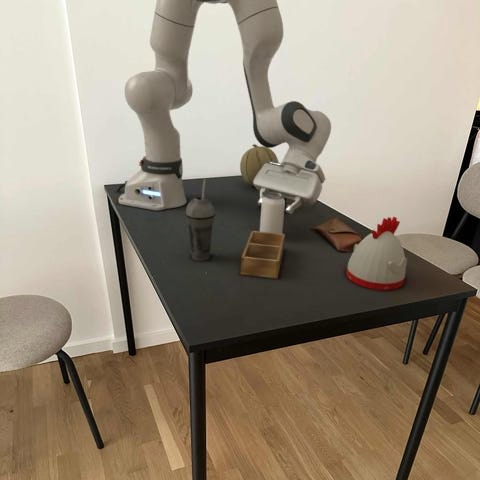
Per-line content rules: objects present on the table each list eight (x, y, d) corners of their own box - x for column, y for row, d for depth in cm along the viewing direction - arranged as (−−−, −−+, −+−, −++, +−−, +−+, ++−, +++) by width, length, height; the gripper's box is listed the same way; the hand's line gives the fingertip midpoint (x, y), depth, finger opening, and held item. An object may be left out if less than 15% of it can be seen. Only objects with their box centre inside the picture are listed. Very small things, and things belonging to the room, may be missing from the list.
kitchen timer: (415, 281, 112) (431, 223, 104) (376, 295, 105) (390, 233, 97) (373, 260, 121) (385, 204, 113) (334, 271, 115) (344, 213, 107)
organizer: (240, 274, 111) (241, 257, 108) (250, 246, 126) (251, 230, 123) (277, 278, 110) (279, 261, 107) (283, 249, 124) (285, 234, 122)
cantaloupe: (274, 194, 166) (277, 151, 158) (235, 189, 169) (236, 147, 161) (280, 183, 178) (284, 143, 170) (244, 179, 181) (245, 139, 173)
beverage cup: (182, 253, 120) (180, 176, 109) (208, 249, 122) (209, 174, 112) (191, 264, 114) (190, 184, 104) (218, 261, 117) (220, 182, 106)
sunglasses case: (310, 227, 138) (323, 208, 136) (326, 236, 142) (339, 218, 140) (338, 251, 124) (353, 230, 122) (356, 261, 128) (370, 241, 125)
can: (280, 241, 129) (284, 200, 123) (257, 239, 130) (260, 197, 124) (283, 233, 134) (286, 193, 128) (261, 231, 135) (264, 190, 129)
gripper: (262, 153, 132) (240, 194, 131) (324, 166, 122) (301, 211, 120) (270, 166, 138) (249, 205, 136) (330, 180, 127) (308, 223, 126)
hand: (274, 208), depth 128 cm, fingers open, 8 cm apart
